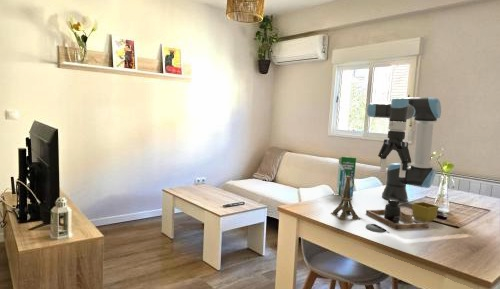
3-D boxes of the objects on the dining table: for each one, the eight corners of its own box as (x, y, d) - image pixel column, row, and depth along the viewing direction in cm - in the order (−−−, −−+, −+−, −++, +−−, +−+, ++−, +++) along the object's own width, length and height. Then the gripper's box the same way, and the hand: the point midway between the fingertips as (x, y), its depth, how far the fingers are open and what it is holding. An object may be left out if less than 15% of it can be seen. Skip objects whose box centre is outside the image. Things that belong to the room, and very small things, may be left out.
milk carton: (349, 192, 219) (353, 155, 216) (352, 196, 210) (356, 157, 207) (336, 191, 220) (339, 154, 217) (338, 194, 211) (341, 156, 208)
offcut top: (404, 214, 164) (405, 210, 164) (412, 219, 157) (412, 215, 156) (397, 213, 164) (398, 209, 164) (404, 218, 157) (405, 214, 157)
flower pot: (425, 225, 158) (428, 207, 158) (409, 220, 166) (411, 203, 165) (437, 224, 163) (439, 206, 162) (420, 218, 170) (422, 201, 169)
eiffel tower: (330, 213, 170) (334, 166, 167) (348, 213, 173) (352, 166, 170) (340, 220, 160) (345, 170, 157) (359, 219, 162) (364, 170, 160)
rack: (394, 215, 173) (395, 209, 172) (428, 230, 152) (428, 223, 151) (365, 216, 167) (366, 210, 167) (396, 232, 146) (396, 225, 146)
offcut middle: (402, 217, 165) (403, 213, 164) (412, 222, 158) (413, 218, 157) (396, 217, 164) (397, 213, 164) (406, 222, 157) (406, 218, 157)
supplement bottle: (397, 227, 154) (400, 202, 153) (382, 223, 158) (384, 199, 156) (399, 223, 160) (402, 199, 159) (384, 220, 164) (387, 197, 162)
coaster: (377, 224, 156) (378, 223, 156) (390, 231, 147) (391, 230, 147) (361, 225, 154) (361, 224, 153) (374, 232, 145) (374, 231, 145)
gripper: (373, 128, 167) (369, 169, 169) (409, 132, 143) (404, 179, 145) (386, 129, 169) (381, 169, 171) (423, 132, 145) (417, 179, 147)
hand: (392, 174), depth 158 cm, fingers open, 13 cm apart
